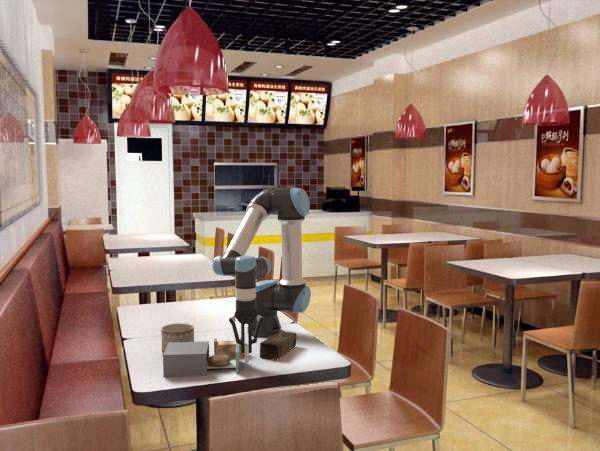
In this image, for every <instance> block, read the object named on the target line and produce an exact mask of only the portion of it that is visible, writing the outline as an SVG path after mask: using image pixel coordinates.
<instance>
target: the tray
mask: <svg viewBox="0 0 600 451" xmlns="http://www.w3.org/2000/svg"><path fill="white" fill-rule="evenodd" d="M233 368H234V369H235V373H236V374H238V373H240V357H239V344H237V343H236V357H235V360H230V364H229V365H227V366H224V367H212V366H209V365H208V361H207V369H208V370H211V369H233Z"/></svg>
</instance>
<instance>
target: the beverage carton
mask: <svg viewBox="0 0 600 451" xmlns="http://www.w3.org/2000/svg"><path fill="white" fill-rule="evenodd" d="M295 346H296V347H297V333H296V332H295V333H294V332H287V331H286V330H281V331H280V332H278V333H277V334H275V335H273V336H270V337H267V338H266V339H264V340H263V341H261V342H260V343H259V358H261V359H267V360H271V359H274V360H273V361H278V360H279V359H281V358H282V357H283V356H285V355H287V354H288V353H289V352H291V351H292V350H294V349H295V348H296V347H295ZM294 347H295V348H294ZM290 350H291V351H290ZM287 352H288V353H287ZM280 357H281V358H280ZM277 359H278V360H277Z"/></svg>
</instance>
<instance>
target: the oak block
mask: <svg viewBox="0 0 600 451" xmlns="http://www.w3.org/2000/svg"><path fill="white" fill-rule="evenodd" d="M239 339H240V340H241V337H239ZM213 355H227V356H229V357H230V358H236V340H217V337H216V338H214V340H213ZM239 356H242V357H243V354H242V352H241V344H239Z"/></svg>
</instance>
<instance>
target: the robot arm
mask: <svg viewBox="0 0 600 451" xmlns="http://www.w3.org/2000/svg"><path fill="white" fill-rule="evenodd" d="M245 211H246V213H245V215H244V217H243V219H242V221H241V222H240V224H239V226H238V228H237V229H236V231H235V234H234V236H233V237H232V238H231V241H230V243H229V245H228V247H227V249H226V250H225V252H224V254H223V255H217V256H215V257H214V258H213V261H212V265H211V266H212V271H213V273H214V274H215V275H217V276H223V277H235V280H234V281H235V299H236V300H235V312H234V315H232V316H230V317H229V318H228V322H229V323H230V325H231V328H232V332H233V335H234V340H235V341H236V343H237V344H241V352H242V355H243V354H244V363H245V364H249V363H250V358H249V357H250V356H249V355H250V354H252V353H253V348H252V347H253V344H257V342H258V337H260V338H266V337H267V338H270V337H271V336H273V335H275V334H277V333H278V332H280V331H282V324H281V323H280V319H279V316H278V312H285V313H286V312H287V313H292V314H297V313H298V314H302V313H305V312H306V310H307V309H308V307H309V305H310V302H311V296H312V291H311V288H310V287H309V286H307V285H306V284H307V281H306V280H305V279H304V278H303V257H302V256H303V252H302V251H303V249H302V244H303V243H302V240H303V239H302V223H303V222H304V221H305V218H306V217H305V216H308V215H309V213H310V199H309V195H308V194H307V192H306V190H305V189H303V188H300V187H299V188H298V187H269V188H266V189H263V190H262V191H260V192H258V194H256V195H255V196H254V197H253V198H252V199H251V200H250V201H249V203H248V204H247V207H246V210H245ZM273 215H274V216H277V220H278V222H280V225H281V232H280V233H281V269H282V270H281V271H282V272H281V273H282V276H281V277H282V278H281V279H280V280H279V282H278V280H276V279H267V280H260V281H257V279H261V278H265V277H266V276H267V275H269V274H270V272H271V270H272V263H271V261H270V259H269V258H267V257H265V256H258V257H255V256H253V255H246V254H247V252H248V250H249V249H250V246H251V245H252V242H253V240H254V238H255V237H256V235H257V233H258V230H259V229H260V227H261V224H262V223H263V222H264V221H266V220H267V218H268V216H273ZM236 320H237V321H238V322H239V324H240V330H241V331H240V334H241V335H240V336H239V332H238V329H237V324H236ZM245 325H247V334H248V335H247V337H248V341H247V343H246V342H245V340H246V339H245V336H246V335H245ZM252 337H253V339H252ZM240 338H241V340H240Z"/></svg>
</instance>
